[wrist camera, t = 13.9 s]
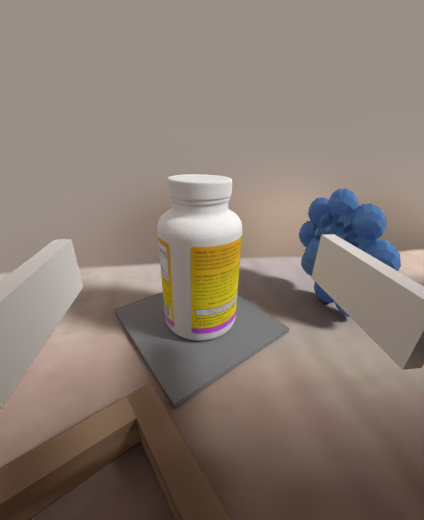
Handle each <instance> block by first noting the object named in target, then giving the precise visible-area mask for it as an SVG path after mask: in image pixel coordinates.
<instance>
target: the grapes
mask: <svg viewBox="0 0 424 520" xmlns="http://www.w3.org/2000/svg"><path fill="white" fill-rule="evenodd" d="M308 215H309V218H310V220H311V221H307V222H306V223H304V224H303V225H302V227H301V229H300V232H299V238H300V241H301V242H302V244H303V245H304V246H305V247H306V249H305V253H304V255H303V257H302V261H301V265H302V267H303V269H304V271H305V272H306V273H307V274H309V275H310V276H312V272H313V268H314V264H315V260H316V256H317V251H318V247H319V243H320V239H321V235H325V234H335V235H336V236H338V237H340V238H341V239H343V240H345V241H347V242H348V243H350V244H352V245H353V246H355V247H357V248H359V249H360V250H362V251H364V252H365V253H367V254H369V255H371V256H372V257H374V258H376V259H378V260H379V261H381V262H383V263H384V264H386V265H388V266H390V267H391V268H393V269H395V270H396V271H398V270H399V268H400V266H401V265H400V253H399V252H398V251H397V249H396V248H395V247H394V245H393V244H391V243H389V242H388V241H386V240H376V239H377V238H379V237H381V236H382V235H383V233H384V231H385V230H386V216H385V215H384V213H383V212H382V211H381V209H380V208H378V207H377V206H375V205H373V204H362V205H361V206H359V202H358V199H357V197H356V196H355V194H354V193H353V192H352V191H350V190H347V189H338V190H337V191H335V192H334V193H333V194H332V195H331V197H330V199H329V200H328V199H326V198H317V199H316V200H314V201H313V202H312V204H311V205H310V207H309V212H308ZM314 291H315V293H316V294H317V296H318V297H319V298H320V299H321V300H323V301H324V302H328V303H333V302H335V301H334V300H333V299H332V298H331V297H330V296H329V295H328V294H327V293H326V292H325V291H324V290H323V289H322V288H321V287H320V286H319V285H318V284H317V283H316V282H315V284H314ZM335 304H336V307H337V308H338V309H339V311H340V312H341V313H343V314H344V315H346V316H347V317H350V316H349V315H348V314H347V313H346V312H345V311H344V310H343V309H342V308H341V307H340V306H339V305H338V304H337V303H336V302H335Z"/></svg>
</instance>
